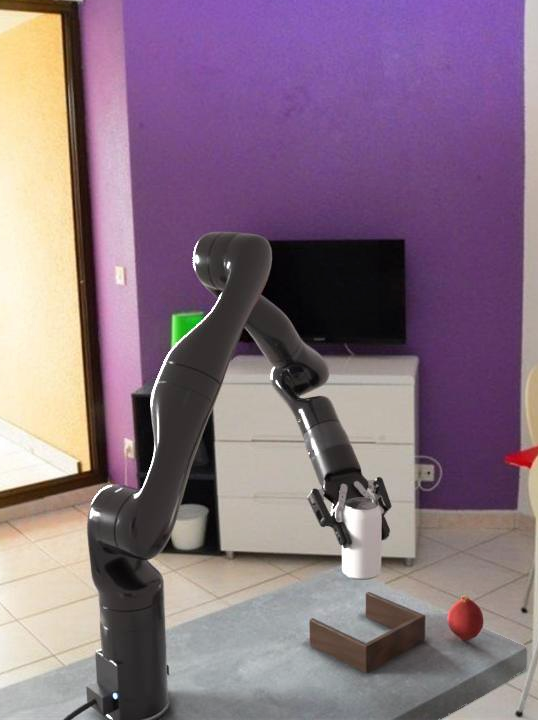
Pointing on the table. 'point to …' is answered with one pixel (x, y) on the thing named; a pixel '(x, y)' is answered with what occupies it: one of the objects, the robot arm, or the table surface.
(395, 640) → the frame
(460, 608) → the onion
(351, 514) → the can
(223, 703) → the table surface
